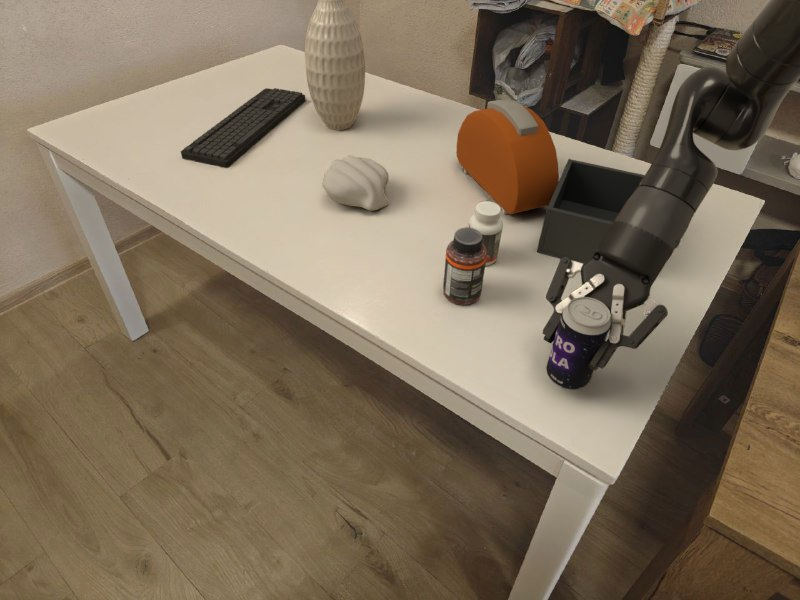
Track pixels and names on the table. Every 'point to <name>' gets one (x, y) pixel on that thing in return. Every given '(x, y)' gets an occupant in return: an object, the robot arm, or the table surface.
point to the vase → (335, 64)
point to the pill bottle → (488, 227)
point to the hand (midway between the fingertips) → (569, 354)
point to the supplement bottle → (464, 267)
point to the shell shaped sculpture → (357, 182)
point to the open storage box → (584, 209)
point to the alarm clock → (509, 155)
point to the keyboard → (243, 128)
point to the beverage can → (578, 342)
